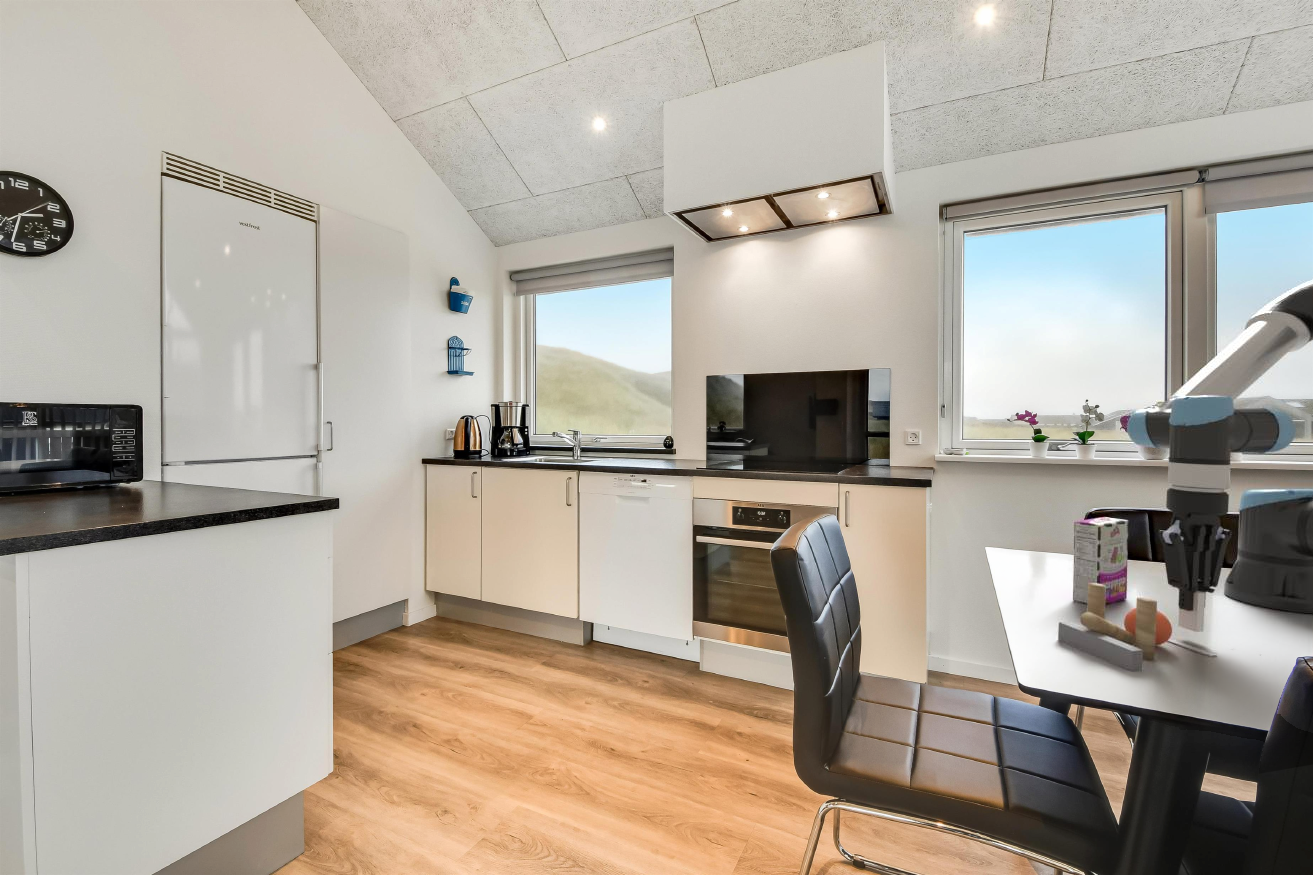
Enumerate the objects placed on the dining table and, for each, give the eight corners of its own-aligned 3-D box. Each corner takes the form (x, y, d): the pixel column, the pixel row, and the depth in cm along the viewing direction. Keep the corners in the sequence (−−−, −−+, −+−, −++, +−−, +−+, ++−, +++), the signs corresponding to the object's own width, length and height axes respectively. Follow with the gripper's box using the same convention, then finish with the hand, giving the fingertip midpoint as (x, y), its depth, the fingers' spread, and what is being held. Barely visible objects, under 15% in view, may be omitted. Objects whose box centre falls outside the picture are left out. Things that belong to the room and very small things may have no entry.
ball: (1108, 619, 96) (1126, 644, 97) (1146, 632, 90) (1164, 659, 91) (1131, 594, 97) (1148, 619, 98) (1170, 606, 91) (1187, 633, 92)
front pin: (1123, 629, 95) (1083, 610, 93) (1138, 635, 92) (1097, 615, 91) (1117, 643, 95) (1077, 623, 93) (1132, 649, 92) (1092, 629, 90)
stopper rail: (1067, 638, 96) (1068, 621, 96) (1142, 669, 85) (1143, 649, 85) (1058, 639, 96) (1058, 621, 96) (1131, 671, 84) (1132, 650, 84)
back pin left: (1142, 653, 91) (1144, 597, 90) (1158, 659, 88) (1161, 602, 88) (1130, 654, 90) (1132, 598, 90) (1146, 661, 88) (1148, 603, 87)
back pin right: (1093, 634, 98) (1095, 582, 98) (1107, 639, 96) (1109, 586, 96) (1082, 635, 98) (1084, 583, 98) (1095, 640, 96) (1098, 587, 95)
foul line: (1137, 628, 102) (1137, 626, 102) (1216, 656, 90) (1216, 654, 90) (1131, 628, 101) (1131, 627, 101) (1210, 656, 90) (1210, 655, 90)
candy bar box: (1099, 592, 122) (1102, 516, 121) (1127, 599, 117) (1130, 520, 117) (1070, 600, 117) (1073, 520, 116) (1098, 607, 112) (1101, 524, 112)
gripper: (1201, 485, 100) (1195, 618, 101) (1142, 486, 98) (1136, 623, 99) (1254, 490, 93) (1247, 634, 94) (1192, 492, 90) (1185, 640, 91)
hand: (1190, 628), depth 96 cm, fingers closed
